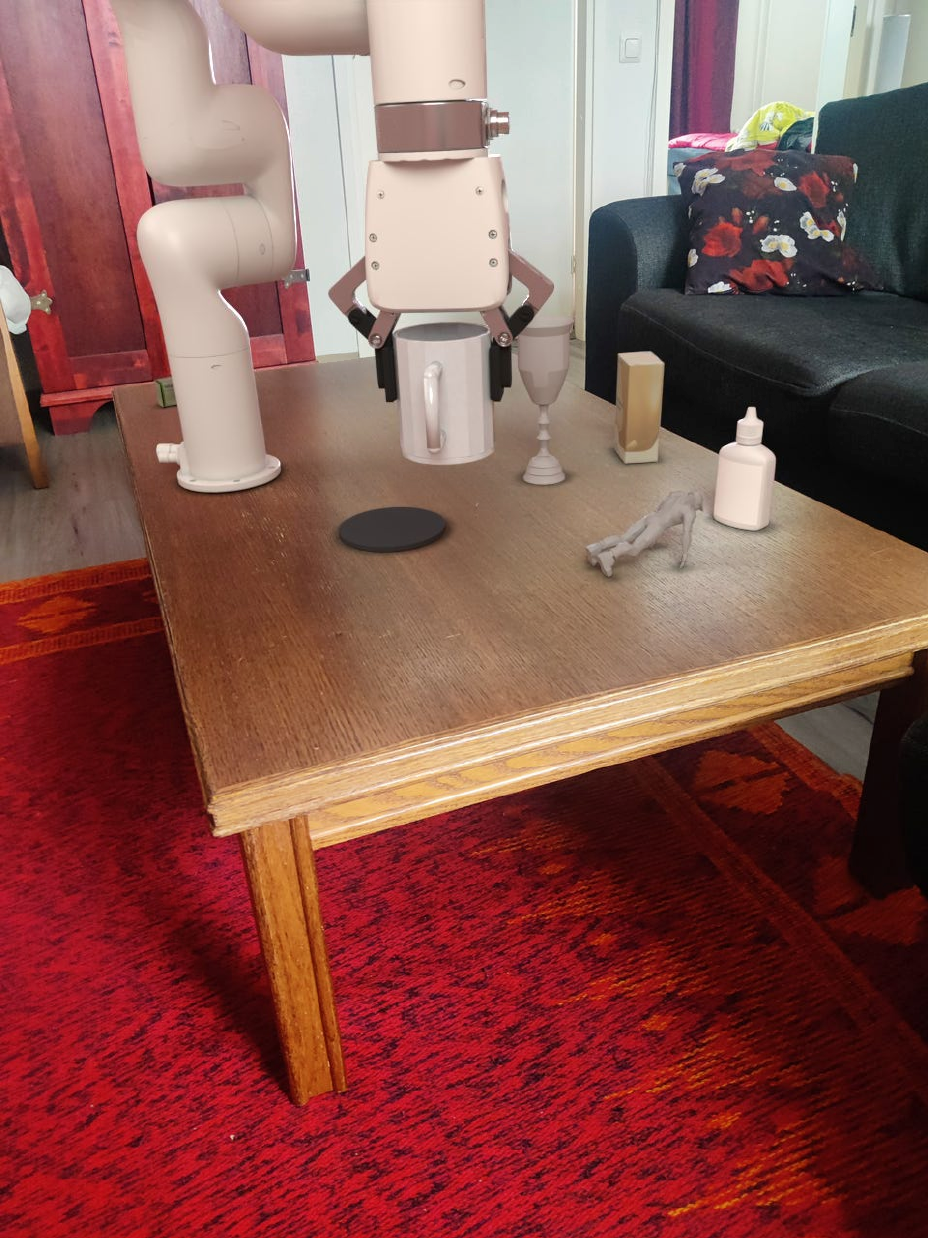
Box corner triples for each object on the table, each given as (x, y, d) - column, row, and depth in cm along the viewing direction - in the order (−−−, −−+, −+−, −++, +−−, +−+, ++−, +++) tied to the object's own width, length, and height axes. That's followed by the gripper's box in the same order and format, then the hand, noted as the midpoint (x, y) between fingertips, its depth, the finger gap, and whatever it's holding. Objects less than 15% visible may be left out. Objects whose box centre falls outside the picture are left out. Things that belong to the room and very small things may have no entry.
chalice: (569, 488, 109) (570, 327, 101) (510, 486, 110) (507, 327, 102) (575, 467, 115) (577, 314, 107) (520, 466, 117) (517, 315, 108)
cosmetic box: (612, 449, 121) (616, 352, 115) (646, 447, 121) (651, 349, 116) (624, 465, 115) (628, 363, 110) (659, 462, 116) (665, 361, 110)
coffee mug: (411, 436, 77) (403, 322, 73) (499, 436, 76) (496, 320, 72) (385, 479, 68) (374, 352, 64) (484, 479, 67) (480, 350, 63)
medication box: (163, 408, 149) (158, 384, 147) (156, 403, 151) (152, 379, 149) (233, 392, 155) (230, 368, 153) (227, 388, 157) (223, 364, 155)
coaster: (327, 551, 96) (326, 546, 96) (353, 511, 106) (352, 506, 105) (436, 553, 94) (436, 547, 94) (452, 511, 104) (452, 506, 104)
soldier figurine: (624, 605, 88) (730, 541, 89) (607, 559, 85) (717, 493, 86) (591, 579, 93) (692, 518, 94) (574, 535, 90) (678, 473, 91)
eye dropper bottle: (734, 535, 95) (745, 417, 89) (708, 516, 100) (717, 403, 94) (774, 529, 96) (787, 412, 90) (746, 510, 101) (757, 398, 95)
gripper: (565, 128, 66) (563, 384, 74) (320, 138, 68) (345, 385, 76) (560, 129, 59) (559, 410, 67) (290, 141, 61) (321, 411, 70)
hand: (445, 395), depth 72 cm, fingers closed on coffee mug, 7 cm apart
